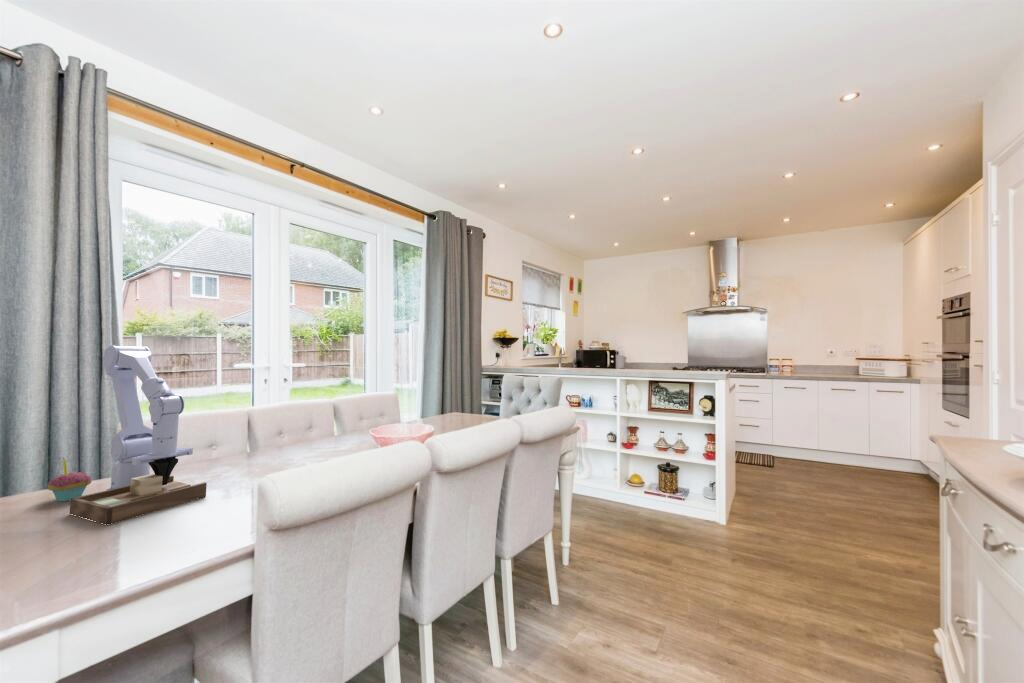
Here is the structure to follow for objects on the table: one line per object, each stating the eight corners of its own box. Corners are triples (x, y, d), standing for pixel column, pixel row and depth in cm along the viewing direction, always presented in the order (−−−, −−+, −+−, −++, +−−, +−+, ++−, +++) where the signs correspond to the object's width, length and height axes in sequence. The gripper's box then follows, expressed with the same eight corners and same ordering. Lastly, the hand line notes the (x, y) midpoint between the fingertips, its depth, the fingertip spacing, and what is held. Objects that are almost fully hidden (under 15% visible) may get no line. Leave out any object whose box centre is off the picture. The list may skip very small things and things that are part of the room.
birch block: (129, 493, 116) (130, 478, 116) (150, 488, 121) (151, 474, 121) (140, 495, 114) (141, 481, 114) (161, 490, 119) (162, 476, 119)
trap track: (69, 514, 106) (70, 498, 106) (170, 488, 128) (171, 475, 128) (106, 525, 101) (107, 508, 101) (205, 496, 122) (206, 482, 122)
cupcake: (67, 504, 113) (69, 459, 113) (36, 503, 113) (39, 458, 113) (99, 494, 121) (101, 452, 122) (70, 493, 122) (73, 451, 122)
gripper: (144, 443, 113) (141, 494, 113) (200, 434, 127) (197, 479, 127) (128, 440, 116) (125, 490, 115) (185, 432, 129) (182, 476, 129)
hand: (162, 484), depth 121 cm, fingers closed
